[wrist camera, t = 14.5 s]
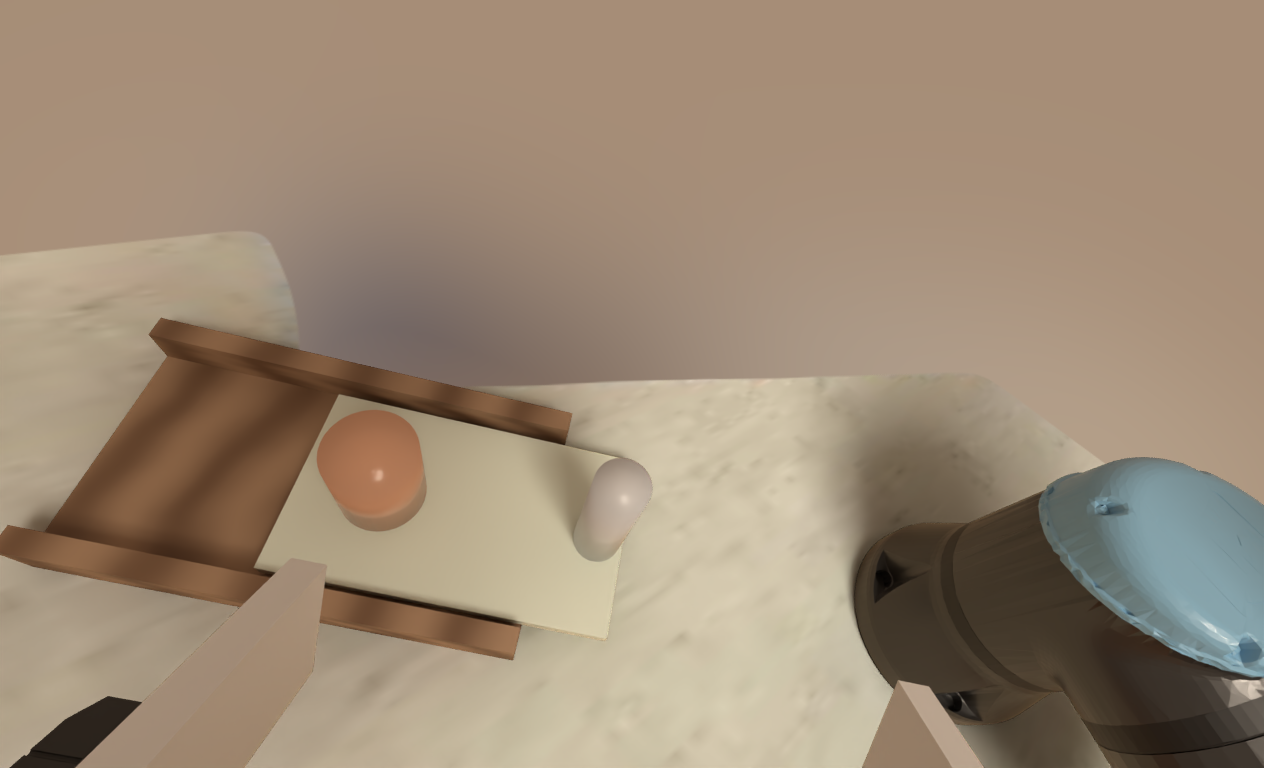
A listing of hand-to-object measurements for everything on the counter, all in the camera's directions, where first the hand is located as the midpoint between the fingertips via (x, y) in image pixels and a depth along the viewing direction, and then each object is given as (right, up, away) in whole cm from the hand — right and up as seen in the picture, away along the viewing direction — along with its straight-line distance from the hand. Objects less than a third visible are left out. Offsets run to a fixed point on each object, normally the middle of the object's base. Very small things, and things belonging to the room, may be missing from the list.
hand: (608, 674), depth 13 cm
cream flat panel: (-12, -3, +31) cm, 34 cm away
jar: (-18, -1, +30) cm, 35 cm away
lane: (-22, -2, +32) cm, 39 cm away
